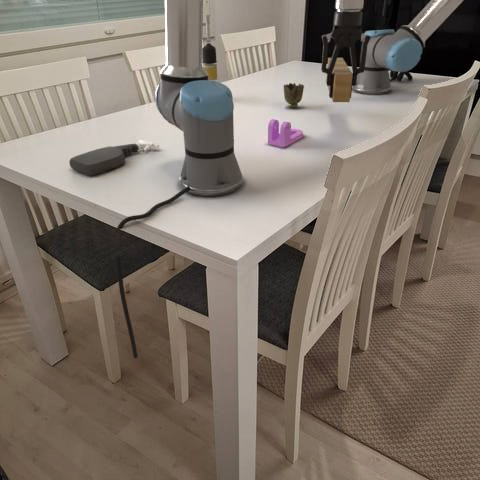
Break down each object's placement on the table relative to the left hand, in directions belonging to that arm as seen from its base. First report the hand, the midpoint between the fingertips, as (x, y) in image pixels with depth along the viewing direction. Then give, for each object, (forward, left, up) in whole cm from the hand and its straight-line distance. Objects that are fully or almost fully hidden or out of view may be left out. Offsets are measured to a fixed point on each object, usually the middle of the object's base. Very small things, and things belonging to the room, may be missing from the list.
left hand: (339, 96), depth 134 cm
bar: (+8, +2, -1) cm, 8 cm away
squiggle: (+81, -15, -11) cm, 83 cm away
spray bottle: (-40, +54, -11) cm, 68 cm away
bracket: (-10, +13, -11) cm, 20 cm away
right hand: (+39, 0, +18) cm, 43 cm away
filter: (+28, +54, -11) cm, 62 cm away
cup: (+25, +20, -11) cm, 34 cm away
